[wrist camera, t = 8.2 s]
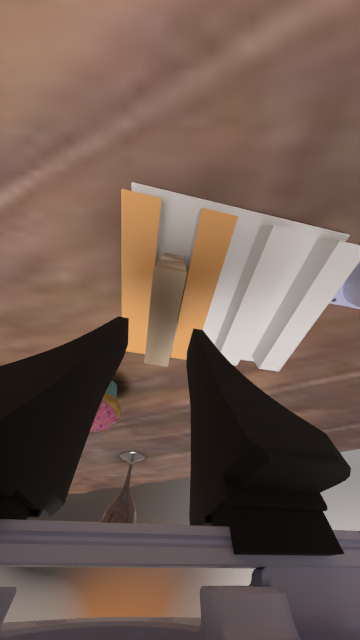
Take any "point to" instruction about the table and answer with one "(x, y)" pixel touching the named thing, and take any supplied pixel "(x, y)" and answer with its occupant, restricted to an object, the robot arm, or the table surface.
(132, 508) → the wine glass
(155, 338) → the block
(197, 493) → the robot arm
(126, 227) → the rack
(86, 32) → the table surface
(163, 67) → the table surface
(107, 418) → the cupcake
